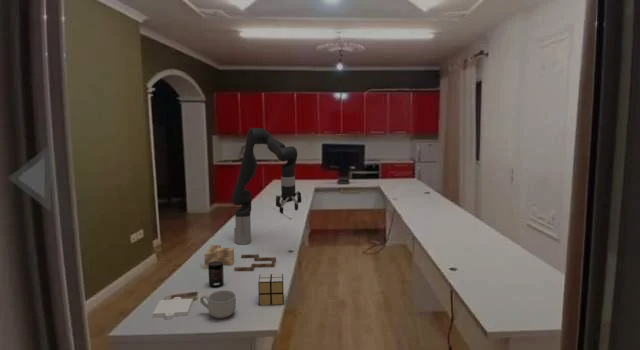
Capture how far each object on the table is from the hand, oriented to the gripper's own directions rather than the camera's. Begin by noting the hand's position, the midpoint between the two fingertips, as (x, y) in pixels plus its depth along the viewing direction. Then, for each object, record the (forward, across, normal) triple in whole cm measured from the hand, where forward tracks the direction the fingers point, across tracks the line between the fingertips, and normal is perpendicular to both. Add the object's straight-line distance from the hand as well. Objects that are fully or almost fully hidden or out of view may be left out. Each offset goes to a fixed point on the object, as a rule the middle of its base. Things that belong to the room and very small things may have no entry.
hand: (289, 211), depth 237 cm
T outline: (+23, +22, +4) cm, 32 cm away
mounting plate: (+13, +71, +41) cm, 83 cm away
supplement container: (+18, +49, +24) cm, 57 cm away
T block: (+23, +38, -4) cm, 45 cm away
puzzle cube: (+14, +34, +52) cm, 64 cm away
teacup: (+12, +57, +54) cm, 79 cm away
